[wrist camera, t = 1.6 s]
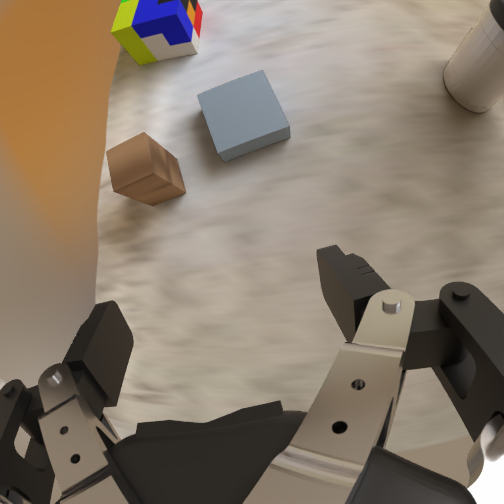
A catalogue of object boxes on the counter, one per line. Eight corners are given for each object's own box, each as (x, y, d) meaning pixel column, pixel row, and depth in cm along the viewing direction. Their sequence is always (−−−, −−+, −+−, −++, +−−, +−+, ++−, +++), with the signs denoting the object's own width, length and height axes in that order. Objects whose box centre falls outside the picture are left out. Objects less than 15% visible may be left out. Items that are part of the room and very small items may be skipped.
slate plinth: (205, 108, 40) (196, 95, 36) (265, 85, 39) (262, 69, 35) (225, 162, 39) (217, 153, 35) (290, 138, 38) (289, 126, 34)
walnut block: (145, 173, 41) (106, 151, 31) (177, 158, 40) (144, 132, 30) (153, 206, 40) (113, 191, 30) (186, 192, 40) (153, 172, 30)
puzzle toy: (197, 53, 40) (176, 14, 30) (139, 65, 42) (110, 32, 32) (202, 12, 40) (185, -26, 31) (148, 24, 42) (125, -10, 32)
